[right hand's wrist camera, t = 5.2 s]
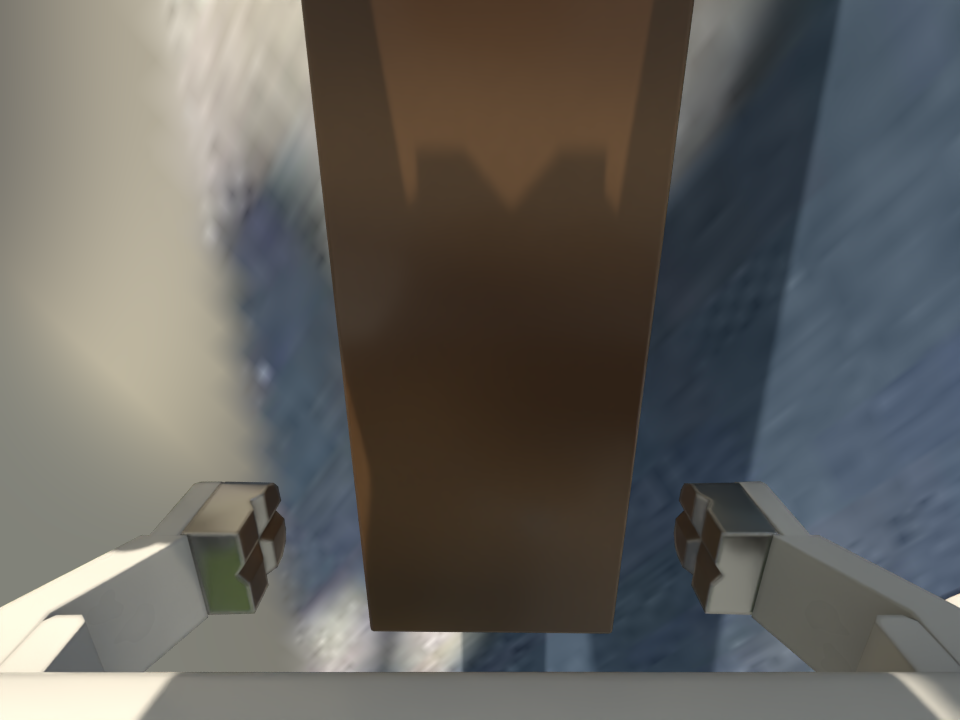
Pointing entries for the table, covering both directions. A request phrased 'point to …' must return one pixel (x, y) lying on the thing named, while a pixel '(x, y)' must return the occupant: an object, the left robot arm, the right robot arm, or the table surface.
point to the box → (494, 290)
